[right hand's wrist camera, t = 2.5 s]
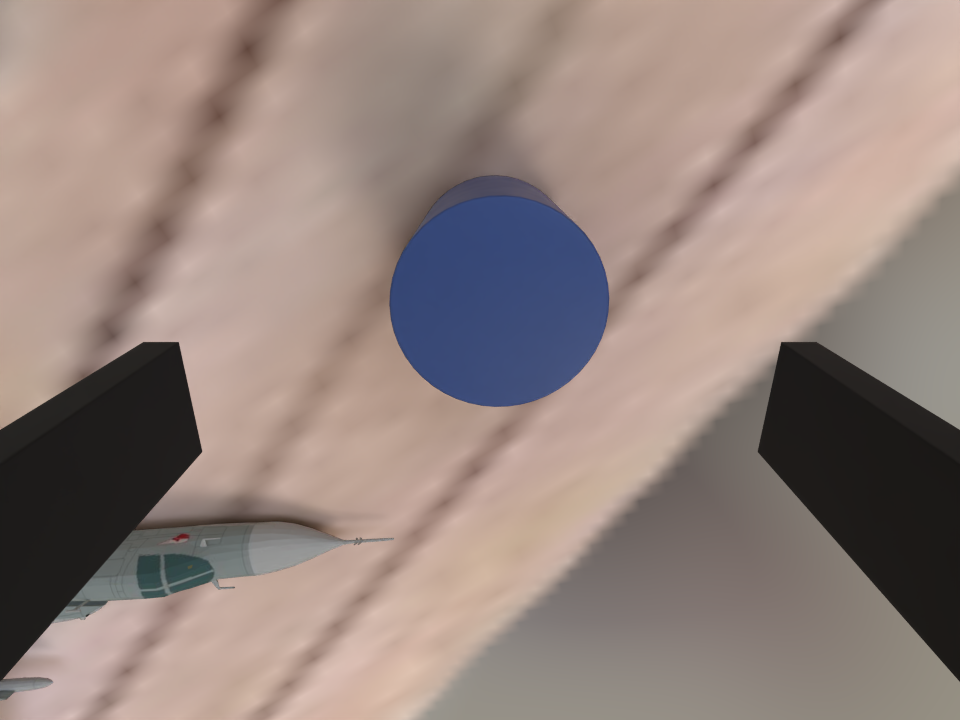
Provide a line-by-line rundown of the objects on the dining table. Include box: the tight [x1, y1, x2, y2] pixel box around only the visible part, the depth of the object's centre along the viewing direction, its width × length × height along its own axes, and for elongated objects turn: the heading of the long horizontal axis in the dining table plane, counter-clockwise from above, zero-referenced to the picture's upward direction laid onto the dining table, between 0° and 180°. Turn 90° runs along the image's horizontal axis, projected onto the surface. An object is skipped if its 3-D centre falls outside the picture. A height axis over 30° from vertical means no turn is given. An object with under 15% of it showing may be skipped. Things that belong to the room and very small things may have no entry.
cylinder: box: [390, 176, 609, 407], centre depth 23 cm, size 8×8×9 cm
